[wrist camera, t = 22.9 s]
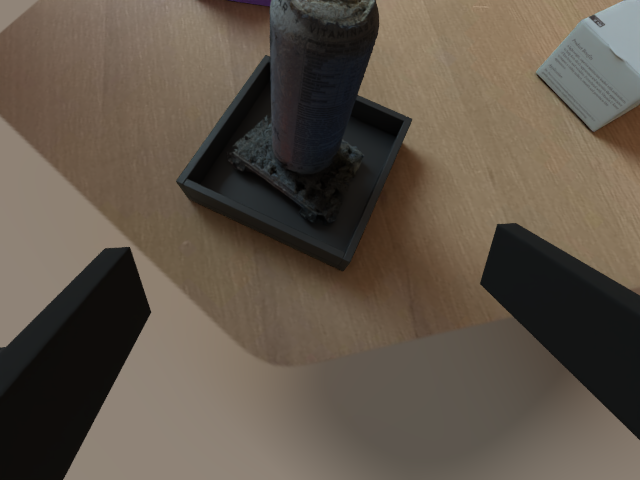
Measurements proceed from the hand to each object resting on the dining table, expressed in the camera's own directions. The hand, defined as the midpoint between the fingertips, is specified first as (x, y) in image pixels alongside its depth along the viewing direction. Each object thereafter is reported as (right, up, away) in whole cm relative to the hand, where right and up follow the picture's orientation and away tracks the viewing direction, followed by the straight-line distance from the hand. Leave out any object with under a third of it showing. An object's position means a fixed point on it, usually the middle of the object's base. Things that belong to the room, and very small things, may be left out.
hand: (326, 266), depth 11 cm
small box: (+25, +15, +18) cm, 34 cm away
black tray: (-2, +6, +12) cm, 14 cm away
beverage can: (-2, +7, +11) cm, 13 cm away
